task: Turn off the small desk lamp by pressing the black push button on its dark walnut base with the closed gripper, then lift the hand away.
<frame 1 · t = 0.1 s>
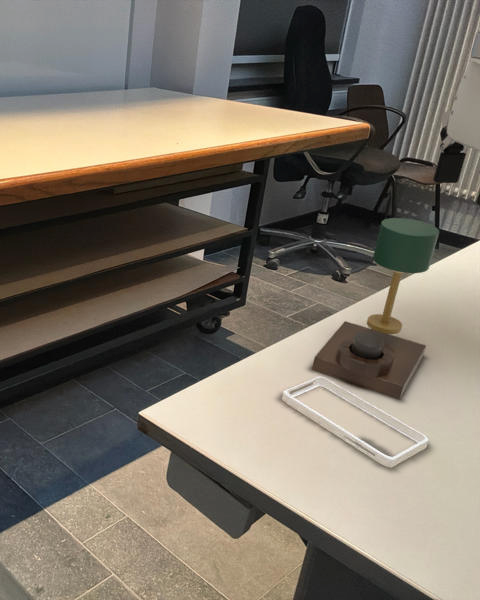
hand: (466, 193, 86), 23 cm above the table, tool pointing down, fingers open, 9 cm apart
phone case: (349, 424, 79), on the table
lamp: (383, 326, 92), resting on lamp base
lamp switch: (367, 346, 86), point 5 cm above the table, slide at 0.1 cm
lamp base: (367, 364, 91), on the table
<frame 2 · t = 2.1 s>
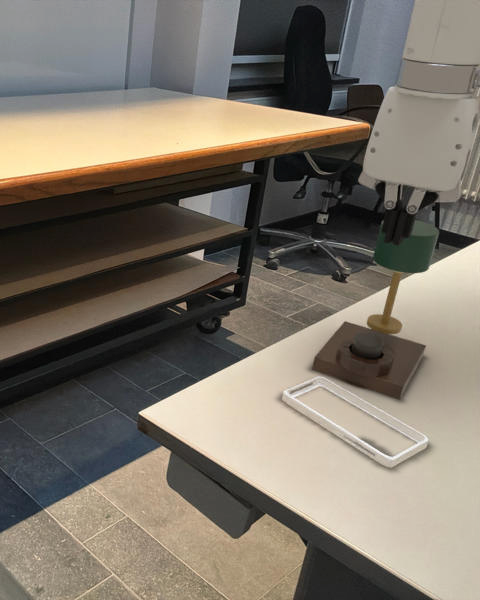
hand: (394, 240, 80), 19 cm above the table, tool pointing down, fingers closed
nothing on the table moved.
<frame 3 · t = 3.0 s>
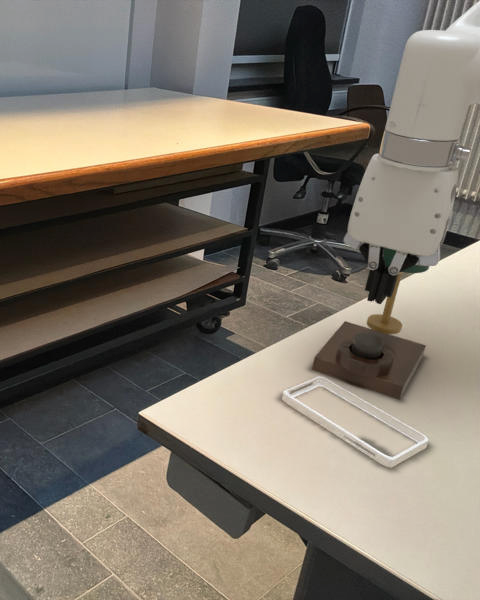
hand: (376, 298, 83), 11 cm above the table, tool pointing down, fingers closed
nothing on the table moved.
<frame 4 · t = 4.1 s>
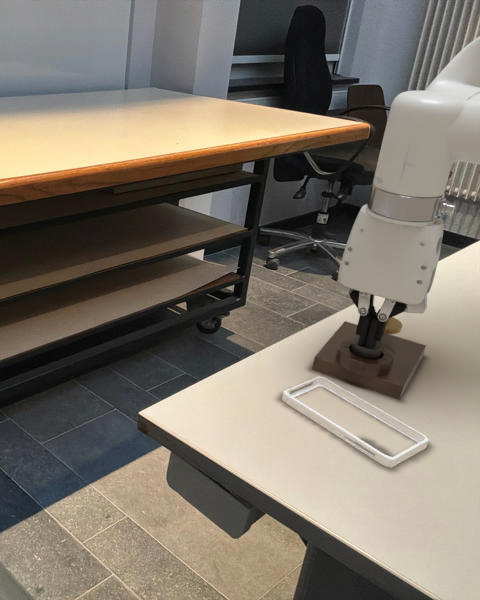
hand: (367, 342, 86), 5 cm above the table, tool pointing down, fingers closed
lamp switch: (366, 349, 86), point 4 cm above the table, slide at -0.3 cm, touching gripper
everything else where it was.
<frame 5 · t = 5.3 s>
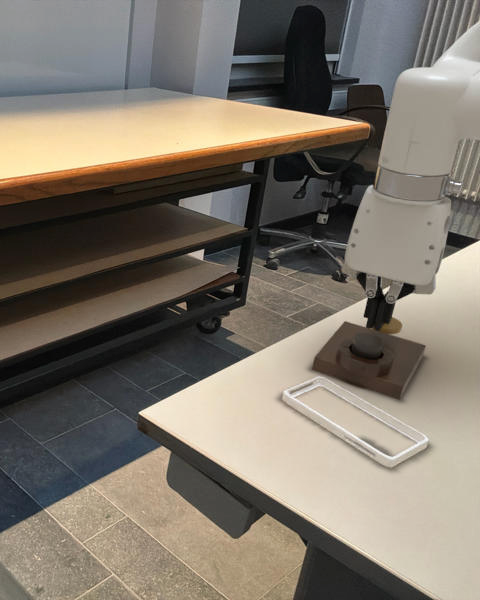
hand: (375, 325, 85), 8 cm above the table, tool pointing down, fingers closed
lamp switch: (367, 346, 86), point 5 cm above the table, slide at 0.1 cm
everything else where it was.
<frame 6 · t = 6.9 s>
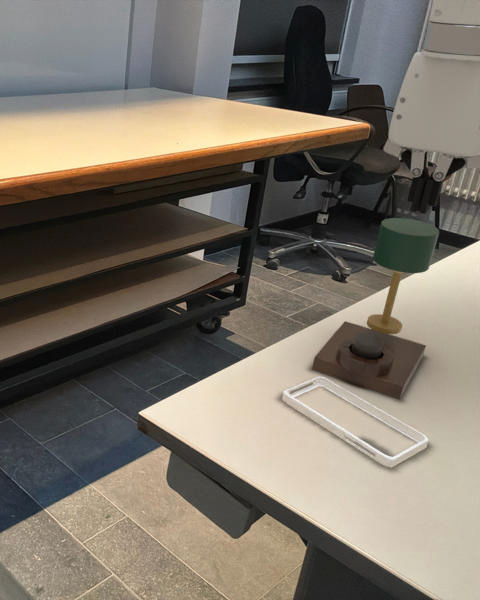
hand: (420, 209, 79), 23 cm above the table, tool pointing down, fingers closed
nothing on the table moved.
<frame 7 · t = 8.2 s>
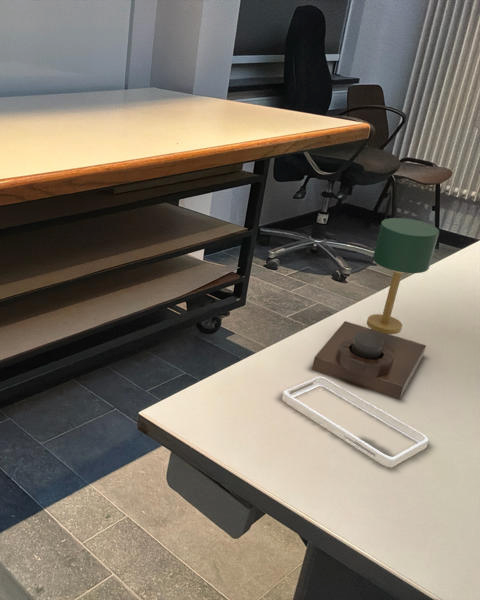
nothing on the table moved.
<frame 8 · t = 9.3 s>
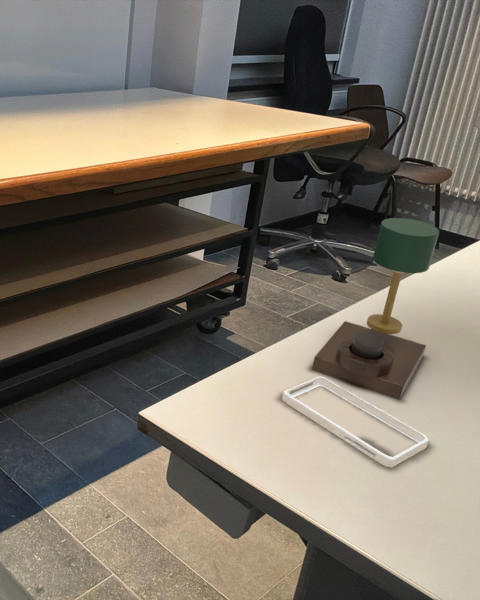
nothing on the table moved.
at the end: lamp switch pushed in 1.1 cm at the most during the clip, back to where it started at the end; lamp switch slide at 0.1 cm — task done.
